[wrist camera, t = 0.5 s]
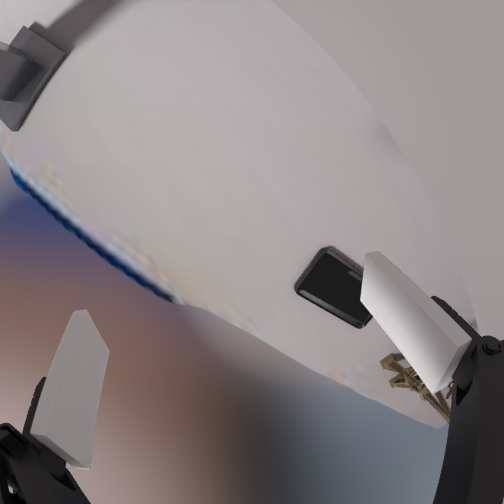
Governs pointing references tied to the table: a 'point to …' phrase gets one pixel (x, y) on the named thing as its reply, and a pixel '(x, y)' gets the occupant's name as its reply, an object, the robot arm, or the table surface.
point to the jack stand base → (24, 74)
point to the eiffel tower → (415, 385)
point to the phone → (334, 288)
